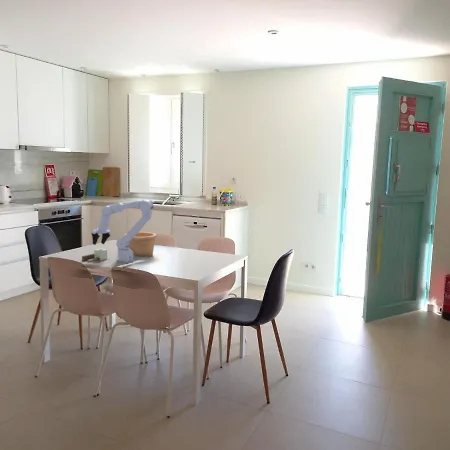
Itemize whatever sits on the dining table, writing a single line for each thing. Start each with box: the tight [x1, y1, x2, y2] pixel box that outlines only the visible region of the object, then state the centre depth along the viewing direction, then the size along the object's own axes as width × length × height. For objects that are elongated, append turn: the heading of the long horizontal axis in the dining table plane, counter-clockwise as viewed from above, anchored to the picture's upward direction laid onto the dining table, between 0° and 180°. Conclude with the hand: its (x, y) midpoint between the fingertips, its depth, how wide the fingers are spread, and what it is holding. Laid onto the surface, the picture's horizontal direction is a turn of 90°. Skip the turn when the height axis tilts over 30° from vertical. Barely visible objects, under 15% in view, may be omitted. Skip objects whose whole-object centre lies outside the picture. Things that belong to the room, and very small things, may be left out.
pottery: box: [123, 231, 158, 258], centre depth 309 cm, size 22×22×14 cm
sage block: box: [93, 248, 108, 261], centre depth 287 cm, size 6×5×6 cm
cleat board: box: [81, 253, 110, 264], centre depth 284 cm, size 10×14×4 cm
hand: (98, 244), depth 288 cm, fingers open, 7 cm apart
